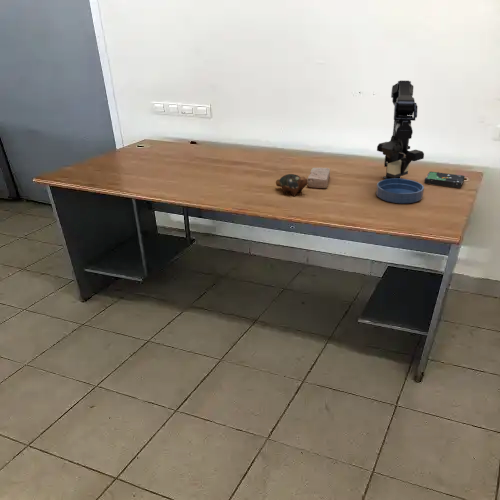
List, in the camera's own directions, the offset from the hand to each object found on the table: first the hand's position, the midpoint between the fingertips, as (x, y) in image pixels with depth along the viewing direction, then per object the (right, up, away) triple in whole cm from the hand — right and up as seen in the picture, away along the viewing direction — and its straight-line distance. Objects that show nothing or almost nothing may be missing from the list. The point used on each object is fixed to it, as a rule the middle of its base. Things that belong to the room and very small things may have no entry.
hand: (397, 172), depth 200 cm
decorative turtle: (-41, -7, +13) cm, 43 cm away
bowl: (+2, -9, +6) cm, 11 cm away
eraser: (0, -1, 0) cm, 1 cm away
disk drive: (+26, -2, +19) cm, 32 cm away
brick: (-28, -1, +23) cm, 36 cm away
